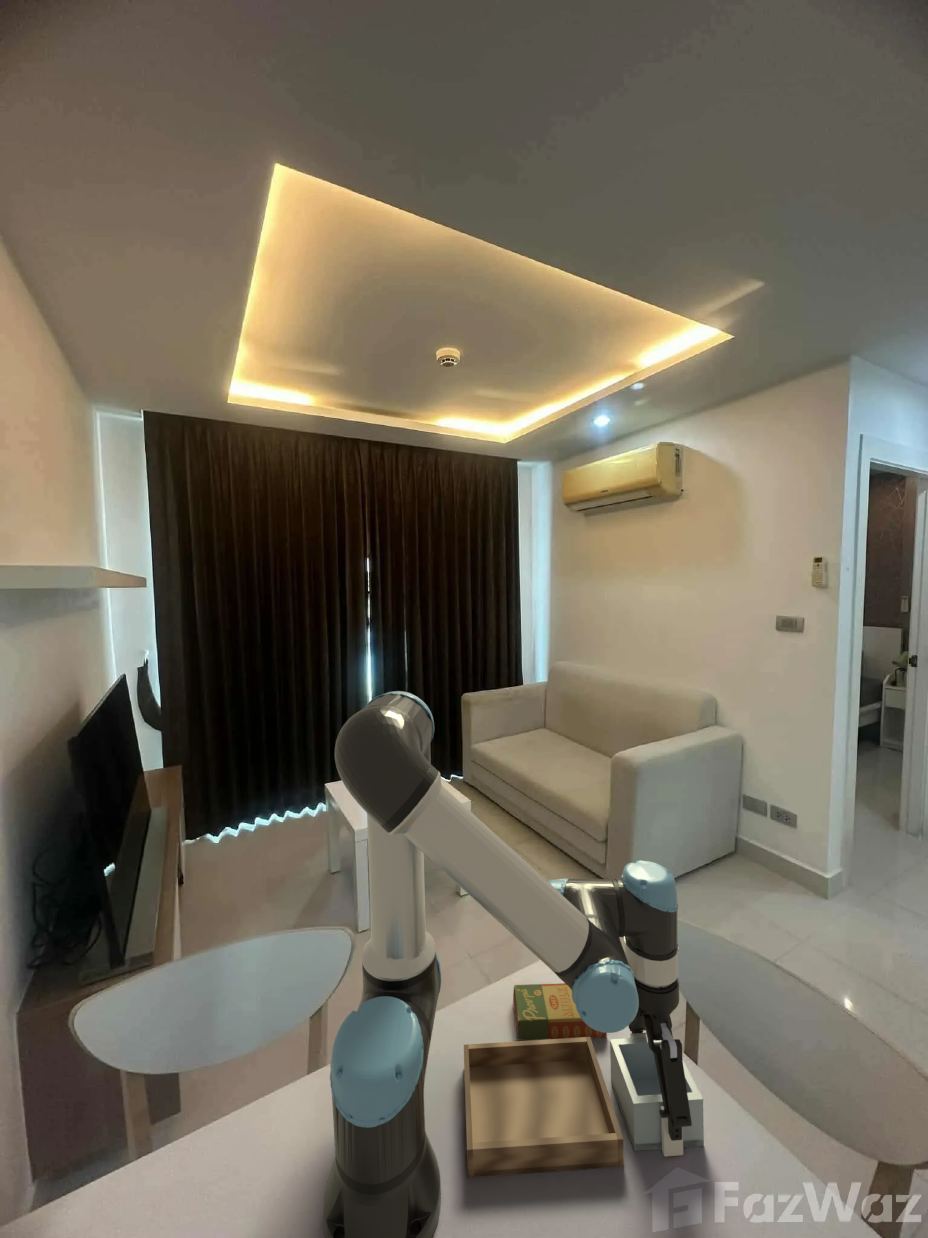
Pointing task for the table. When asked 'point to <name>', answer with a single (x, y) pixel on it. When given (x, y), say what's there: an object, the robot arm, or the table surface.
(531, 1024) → the carton
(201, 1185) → the table surface
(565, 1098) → the crate
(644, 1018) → the robot arm
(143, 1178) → the table surface
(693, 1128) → the small crate
